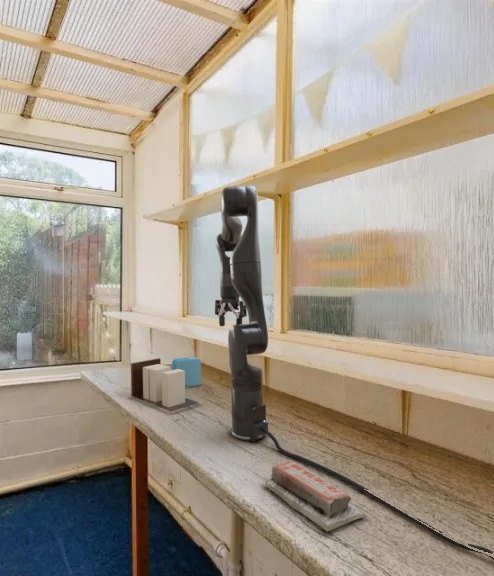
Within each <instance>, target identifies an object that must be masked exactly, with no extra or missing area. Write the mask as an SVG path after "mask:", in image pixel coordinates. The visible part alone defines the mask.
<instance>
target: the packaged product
mask: <svg viewBox="0 0 494 576" xmlns="http://www.w3.org/2000/svg"><path fill="white" fill-rule="evenodd" d="M265 487H266V488H267V489H268V490H270V491H272V492H273V493H274V494H276V495H277V496H278V497H279V498H280V499H282V500H283V501H284V502H285V503H286V504H288V505H289V507H291V508H293V509H294V510H296V511H298V512H299V513H300V514H302V515H304V516H305V517H307V518H308V519H309V520H310V521H312V522H313V523H315V524H316V525H317V526H319V527H320V528H322V530H324V531H326V532H327V533H328V532H330V531H332V530H335V529H337V528H339V527H342V526H344V525H347V524H349V523H351V522H353V521H355V520H356V521H357V520H358V519H361V518H364V514H365V511H363V510H362V509H359V508H357V506H355V505H353V504H351V503H350V501H351V500H352V497H351V496H350V495H349V494H347V493H346V492H344V491H343V490H341V489H340V488H338V487H336V486H334V485H333V484H331V483H330V482H328V481H326V480H325V479H323V478H321V476H318V475H317V474H315V473H313V472H312V471H310V470H308V469H306V468H305V467H304V466H302V465H300V464H299V463H297V462H294V461H287V462H283V463H279V464H276V465H273V466H272V467H271V477H270V478H269V479H268V478H267V479H266V480H265Z"/></svg>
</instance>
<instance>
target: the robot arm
mask: <svg viewBox="0 0 494 576" xmlns="http://www.w3.org/2000/svg"><path fill="white" fill-rule="evenodd" d="M220 214H221V216H220V217H221V222H222V226H221V233H219V234H217V236H216V237H215V247H216V250H217V253H218V256H219V262H220V277H219V280H220V281H219V285H220V286H219V287H220V288H219V296H220V298H221V299H215V300H214V315H215V316H216V315H217V316H218V324H219V327H225V326H226V316H225V315H226V314H227V313H228V312H230V313H233V315H234V316H235V324H233V325H232V326H231V327H230V328H229V330H228V337H227V343H228V344H227V345H228V358H229V359H228V361H229V369H230V383H231V385H230V386H231V388H230V389H231V391H230V392H231V394H230V396H231V398H230V399H231V436H233V437H234V438H235V439H238V440H242V441H248V442H253V443H254V442H256V441H259V440H260V439H263V438H265V437H267V436H268V437H269V438H270V439H271V441H273V443H274V446H275V447H276V449H277V450H278V452H280V453H281V454H283V455H285V456H287V457H288V458H292V459H295V460H298V461H301V462H303V463H305V464H308V465H310V466H312V467H314V468H316V469H319V470H320V471H323V472H325V473H327V474H330V475H331V476H333V477H335V478H337V479H339V480H341V481H342V482H345V483H347V484H348V485H351V486H352V487H354V488H356V489H358V490H359V491H361V492H362V493H364V494H366V495H368V496H369V497H371V498H372V499H374V500H376V501H378V502H379V503H381V504H382V505H384V506H386V507H387V508H390V509H391V510H393V511H394V512H396V513H398V514H399V515H401V516H403V517H404V518H406V519H408V520H410V522H411V521H412V522H413V523H415V524H417V525H418V526H420V527H422V528H423V529H425V530H427V531H428V532H430V533H432V534H434V535H435V536H437V537H439V538H441V539H442V540H444V541H445V542H448V543H450V544H452V545H453V546H456V547H458V548H460V549H463V550H466V551H468V552H469V551H470V552H473V553H477V554H482V555H485V556H487V557H489V558H490V559H491V560H493V561H494V558H493V557H491V556H488V555H486V554H483V553H481V552H478V551H475V550H473V549H470V548H468V547H466V546H464V545H462V544H459V543H457V542H455V541H453V540H451V539H449V538H447V537H445V536H443V535H442V534H440V533H444V532H443V531H441V530H440V529H438V528H436V527H434V526H433V525H431V526H430V524H429V523H428V522H425V521H424V522H423V520H422V519H420V518H419V517H417V519H418V520H419V521H421V520H422V522H423V523H425V524H427V525H428V524H429V527H432V528H433V527H434V528H433V529H435V528H436V530H437V529H438V531H439V532H440V533H438V532H436V531H434V530H433V529H431V528H429V527H427V526H426V525H424V524H422V523H421V522H419V521H417V520H415V519H414V518H412V517H410V516H408V515H407V514H405V513H403V512H402V511H400V510H398V509H396V508H395V507H393V506H391V505H390V504H388V503H386V502H385V501H383V500H381V499H380V498H378V497H376V496H374V495H373V494H371V493H369V492H368V491H366V490H369V488H367V487H365V486H363V485H361V484H360V483H358V482H356V481H354V480H353V479H350V478H348V477H347V476H344V475H343V474H341V473H339V472H337V471H335V470H333V469H330V468H329V467H327V466H324V465H322V464H320V463H318V462H315V461H313V460H310V459H308V458H305V457H304V456H301V455H300V454H299V455H298V454H296V453H291V452H289V451H287V450H285V449H283V447H281V445H280V443H279V441H278V440H277V438H276V437H275V436H274V435H273V433H271V432H270V431H269V423H268V422H267V408H266V407H267V404H266V403H264V389H263V387H264V386H263V385H264V384H263V383H264V382H263V381H264V380H263V378H264V377H263V376H264V373H263V372H264V371H263V369H262V368H261V367H260V366H258V365H255V364H252V363H249V361H248V356H253V355H262V354H264V353H265V352H266V351H267V349H268V346H269V332H268V324H267V318H266V312H265V307H264V306H265V305H264V297H263V296H264V295H263V280H262V263H261V261H262V260H261V252H260V251H261V250H260V240H259V195H258V191H257V188H256V186H255V185H254V184H243V185H230V186H229V185H228V186H226V187H224V188H223V189H222V191H221V193H220ZM239 217H246V224H245V228H244V230H243V222H242V220H241V219H240V218H239ZM242 231H243V233H242ZM230 252H231V255H230V256H228V255H227V254H226V253H230ZM240 299H241V300H240ZM247 316H248V323H243V318H246V317H247ZM364 489H366V490H364ZM468 545H469V546H471V547H474V548H477V549H479V550H483V551H484V552H488V553H491V554H492V553H493V552H494V551H492V550H491V549H489V548H486V547H484V546H481V545H476V544H473V543H468Z"/></svg>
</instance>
